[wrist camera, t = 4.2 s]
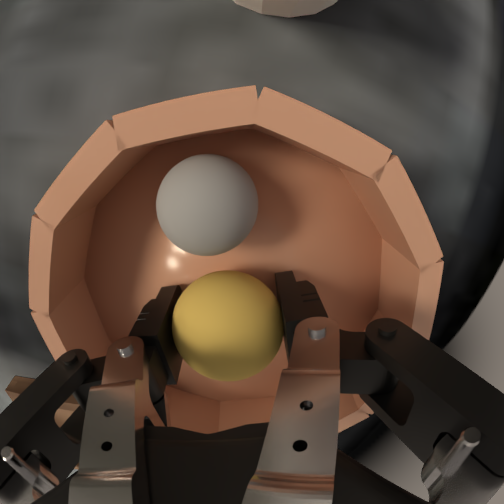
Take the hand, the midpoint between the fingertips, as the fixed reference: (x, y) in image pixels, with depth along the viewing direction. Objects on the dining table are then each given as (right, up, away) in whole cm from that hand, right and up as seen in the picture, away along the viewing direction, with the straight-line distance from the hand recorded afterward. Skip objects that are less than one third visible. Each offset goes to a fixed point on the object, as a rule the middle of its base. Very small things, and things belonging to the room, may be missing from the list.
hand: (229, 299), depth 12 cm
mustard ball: (0, 0, 0) cm, 0 cm away
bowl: (0, 0, +1) cm, 1 cm away
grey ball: (-1, +4, -1) cm, 4 cm away
